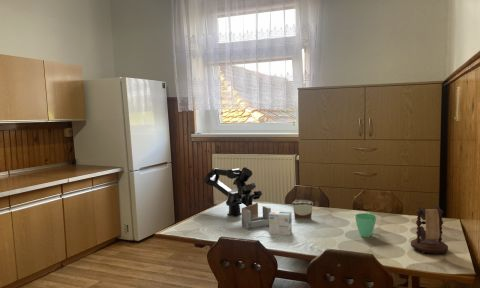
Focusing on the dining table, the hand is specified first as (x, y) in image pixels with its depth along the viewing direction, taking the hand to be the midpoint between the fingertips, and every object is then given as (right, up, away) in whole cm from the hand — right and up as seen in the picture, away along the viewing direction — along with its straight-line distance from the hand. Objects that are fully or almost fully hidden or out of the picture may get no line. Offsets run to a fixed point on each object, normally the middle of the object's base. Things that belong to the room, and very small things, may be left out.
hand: (251, 208), depth 213 cm
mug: (+57, -9, -24) cm, 63 cm away
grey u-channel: (+3, -8, -8) cm, 12 cm away
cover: (-1, -8, -2) cm, 8 cm away
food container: (+30, -7, +7) cm, 32 cm away
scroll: (+77, -10, -46) cm, 91 cm away
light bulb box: (+14, -9, -19) cm, 26 cm away
